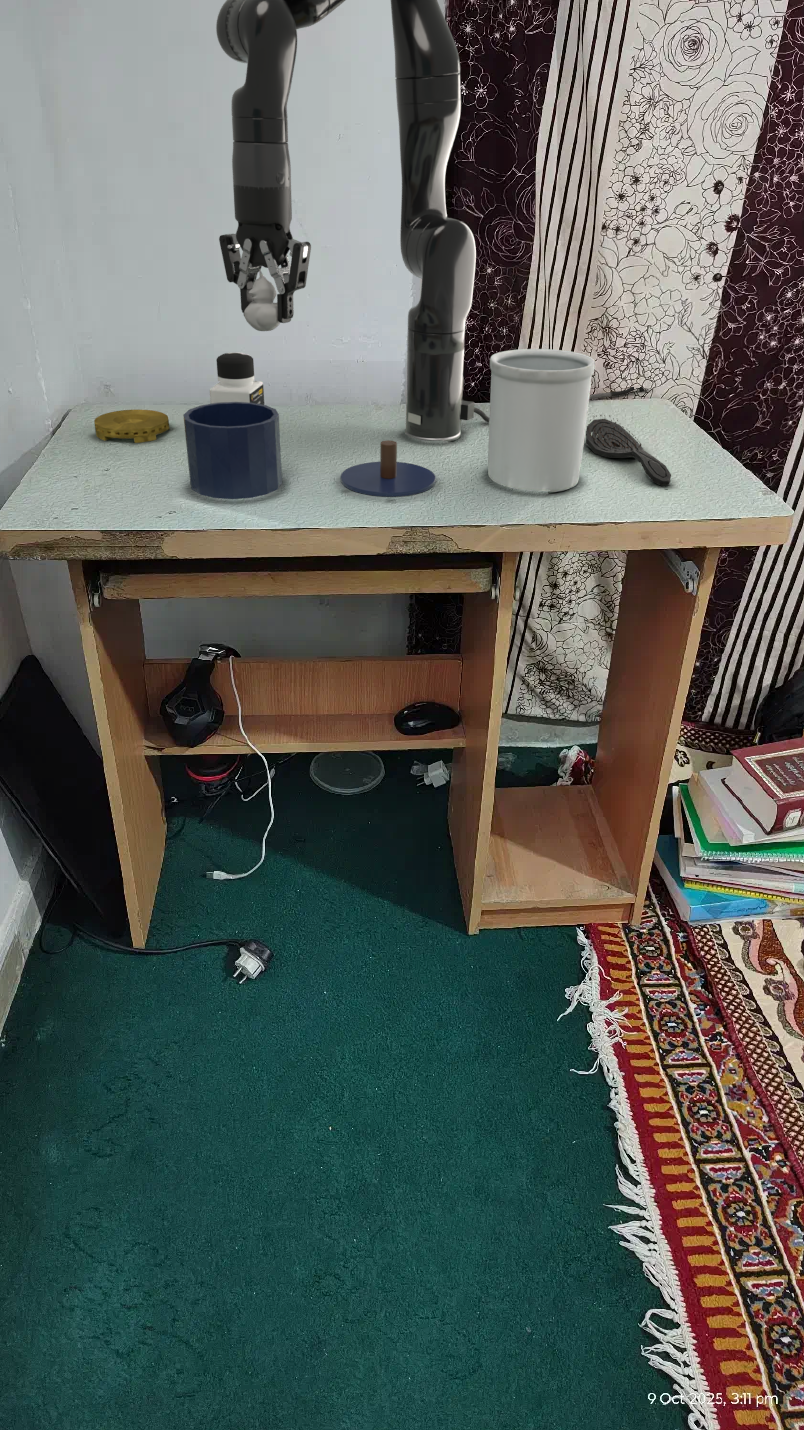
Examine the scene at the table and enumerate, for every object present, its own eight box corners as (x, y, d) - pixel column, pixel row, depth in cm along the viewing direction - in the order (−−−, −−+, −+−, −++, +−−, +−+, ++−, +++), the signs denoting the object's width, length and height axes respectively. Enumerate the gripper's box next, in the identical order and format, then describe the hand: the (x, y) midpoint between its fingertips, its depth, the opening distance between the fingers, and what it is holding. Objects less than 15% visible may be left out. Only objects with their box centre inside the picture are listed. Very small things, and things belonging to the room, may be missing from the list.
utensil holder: (466, 469, 152) (472, 351, 143) (549, 458, 157) (560, 344, 148) (512, 500, 141) (522, 374, 131) (600, 488, 146) (616, 366, 137)
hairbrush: (643, 470, 145) (577, 414, 164) (639, 493, 147) (574, 436, 166) (694, 466, 147) (623, 412, 166) (689, 490, 149) (619, 434, 168)
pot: (228, 467, 151) (223, 397, 145) (298, 482, 146) (296, 410, 140) (172, 491, 141) (164, 418, 136) (244, 509, 136) (239, 433, 130)
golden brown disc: (180, 425, 169) (178, 412, 168) (153, 445, 159) (151, 432, 158) (114, 420, 171) (112, 407, 170) (83, 440, 161) (81, 427, 160)
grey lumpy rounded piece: (242, 327, 140) (239, 266, 135) (288, 326, 141) (286, 265, 137) (248, 335, 135) (245, 272, 131) (295, 334, 137) (294, 271, 133)
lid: (372, 463, 154) (372, 423, 150) (451, 479, 148) (453, 438, 145) (322, 489, 143) (321, 447, 140) (406, 507, 138) (406, 464, 134)
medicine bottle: (252, 435, 165) (248, 361, 159) (212, 431, 166) (206, 358, 160) (265, 423, 171) (262, 351, 165) (226, 420, 172) (221, 348, 166)
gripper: (323, 184, 128) (325, 322, 137) (236, 177, 134) (243, 310, 143) (290, 187, 123) (293, 330, 132) (200, 179, 129) (209, 317, 138)
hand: (267, 319), depth 138 cm, fingers closed on grey lumpy rounded piece, 5 cm apart
